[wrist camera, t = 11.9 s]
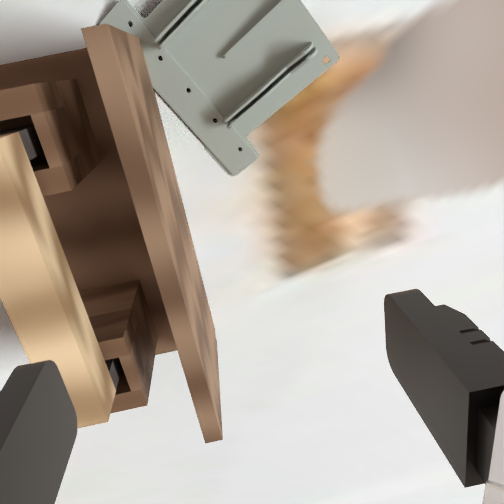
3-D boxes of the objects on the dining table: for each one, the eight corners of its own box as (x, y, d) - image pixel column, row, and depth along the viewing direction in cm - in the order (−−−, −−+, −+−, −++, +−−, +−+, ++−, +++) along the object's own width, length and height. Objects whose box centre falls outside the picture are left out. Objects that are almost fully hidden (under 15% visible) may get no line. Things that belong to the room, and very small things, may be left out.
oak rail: (-3, 131, 29) (-67, 152, 22) (44, 122, 29) (-5, 139, 22) (88, 361, 36) (61, 431, 29) (125, 353, 36) (107, 421, 29)
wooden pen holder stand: (-19, 71, 34) (-156, 75, 21) (142, 39, 34) (106, 23, 21) (93, 356, 44) (48, 478, 31) (216, 330, 44) (222, 439, 31)
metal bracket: (223, -133, 26) (369, 78, 31) (237, -119, 31) (362, 61, 36) (77, 42, 32) (219, 193, 38) (108, 31, 37) (230, 166, 42)
